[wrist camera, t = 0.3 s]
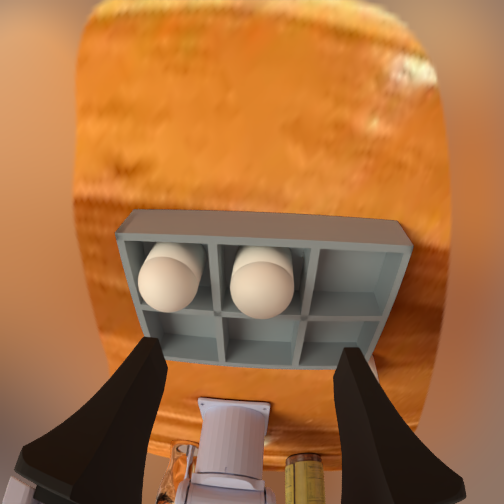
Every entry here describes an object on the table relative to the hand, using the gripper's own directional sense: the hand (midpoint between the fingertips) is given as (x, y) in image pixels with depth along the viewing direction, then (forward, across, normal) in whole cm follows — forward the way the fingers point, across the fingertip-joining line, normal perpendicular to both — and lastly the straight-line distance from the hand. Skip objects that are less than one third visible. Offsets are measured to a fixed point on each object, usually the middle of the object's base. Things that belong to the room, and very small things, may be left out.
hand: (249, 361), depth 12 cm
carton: (+10, 0, +4) cm, 10 cm away
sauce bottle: (+10, -8, +42) cm, 44 cm away
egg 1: (+9, +5, +1) cm, 10 cm away
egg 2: (+9, 0, +1) cm, 9 cm away
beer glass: (+10, +10, +40) cm, 42 cm away
